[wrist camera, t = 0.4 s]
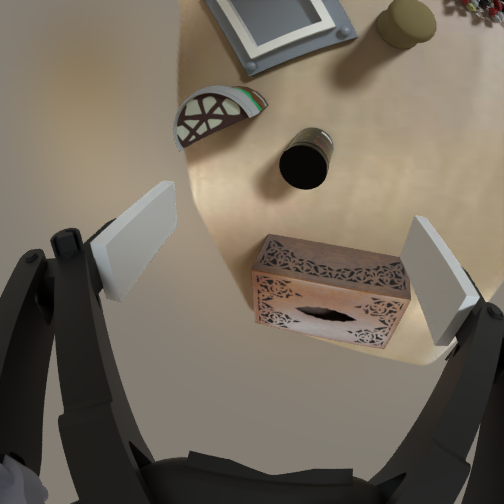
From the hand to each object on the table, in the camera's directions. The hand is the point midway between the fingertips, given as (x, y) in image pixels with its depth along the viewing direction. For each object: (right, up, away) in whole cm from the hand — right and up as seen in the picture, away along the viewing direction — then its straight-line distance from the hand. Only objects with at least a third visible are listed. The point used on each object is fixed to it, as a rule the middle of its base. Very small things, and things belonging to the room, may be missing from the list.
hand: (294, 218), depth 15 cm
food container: (-5, +21, +23) cm, 32 cm away
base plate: (+1, +30, +12) cm, 33 cm away
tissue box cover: (+14, -6, +39) cm, 42 cm away
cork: (+16, +27, +8) cm, 32 cm away
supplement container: (+7, +14, +24) cm, 29 cm away
